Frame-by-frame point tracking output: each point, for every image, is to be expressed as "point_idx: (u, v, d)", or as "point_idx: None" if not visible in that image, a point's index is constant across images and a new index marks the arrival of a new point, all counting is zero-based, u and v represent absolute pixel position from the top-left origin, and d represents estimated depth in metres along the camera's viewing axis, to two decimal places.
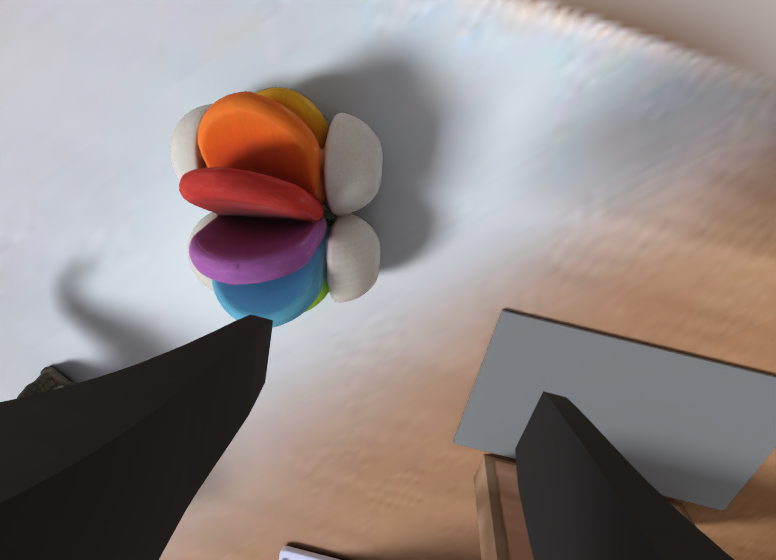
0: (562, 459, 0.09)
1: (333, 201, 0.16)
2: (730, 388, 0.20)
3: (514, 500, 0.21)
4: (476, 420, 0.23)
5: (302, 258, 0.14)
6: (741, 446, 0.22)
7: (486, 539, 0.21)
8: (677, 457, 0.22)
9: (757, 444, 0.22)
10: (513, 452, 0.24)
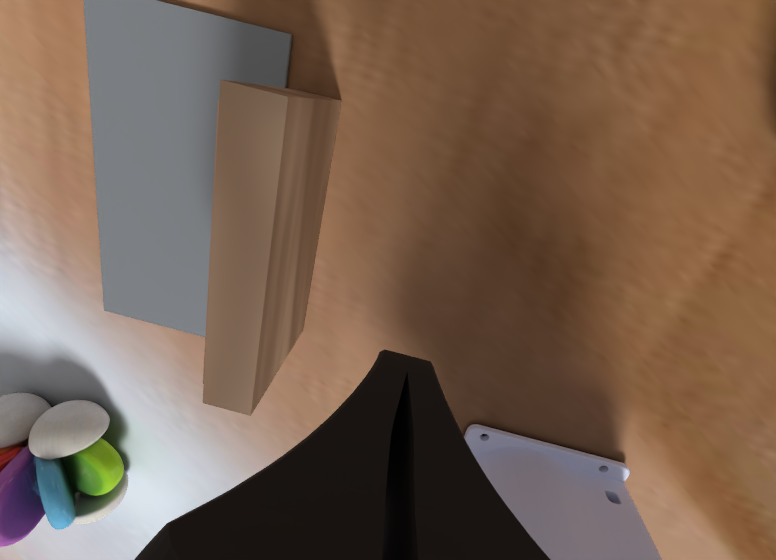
0: (401, 416, 0.09)
1: (1, 445, 0.24)
2: (114, 89, 0.19)
3: None
4: None
5: None
6: (182, 48, 0.18)
7: None
8: None
9: (174, 29, 0.17)
10: None
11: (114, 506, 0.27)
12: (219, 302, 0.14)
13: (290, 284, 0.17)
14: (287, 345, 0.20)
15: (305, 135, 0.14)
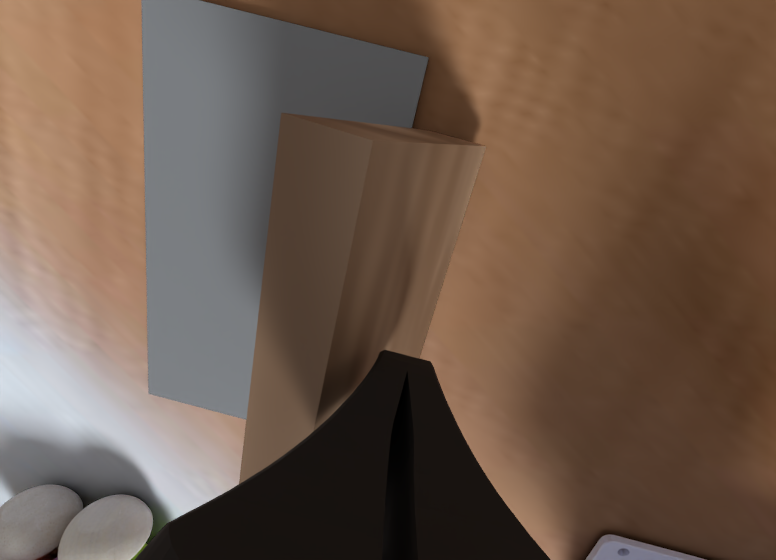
0: (401, 416, 0.09)
1: None
2: (176, 129, 0.14)
3: None
4: None
5: None
6: (274, 76, 0.13)
7: None
8: None
9: (265, 50, 0.13)
10: None
11: None
12: (259, 418, 0.10)
13: None
14: None
15: (411, 198, 0.09)
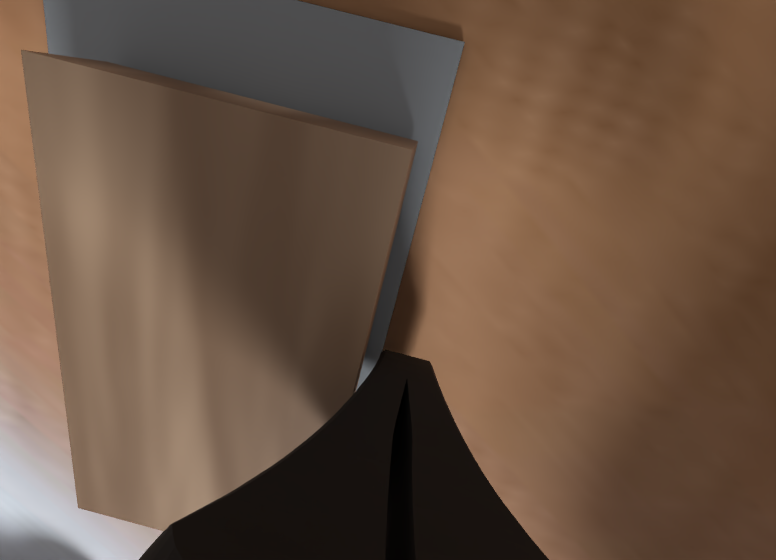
0: (400, 416, 0.09)
1: None
2: None
3: None
4: None
5: None
6: (237, 70, 0.09)
7: None
8: None
9: (223, 32, 0.09)
10: None
11: None
12: None
13: (180, 415, 0.10)
14: None
15: (144, 151, 0.07)
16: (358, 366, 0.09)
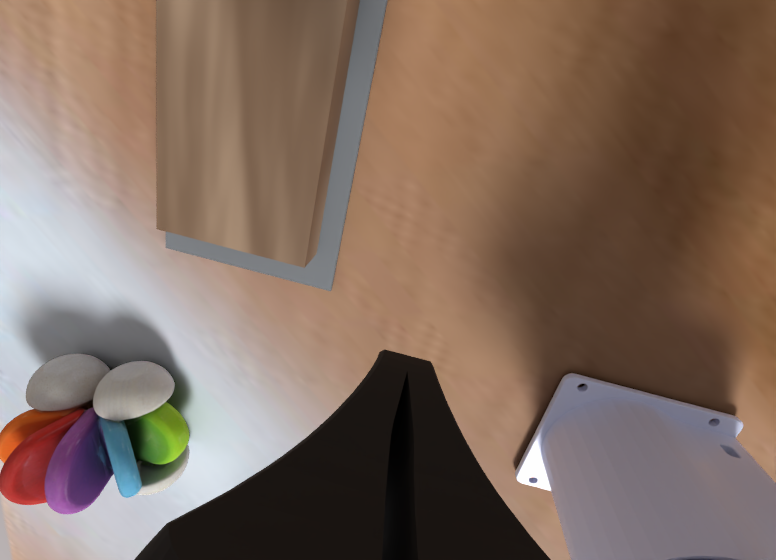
0: (401, 416, 0.09)
1: (64, 406, 0.22)
2: None
3: None
4: (295, 268, 0.21)
5: (60, 449, 0.20)
6: None
7: None
8: None
9: None
10: (334, 227, 0.20)
11: (177, 477, 0.25)
12: None
13: (227, 141, 0.17)
14: (244, 235, 0.18)
15: None
16: (331, 93, 0.15)
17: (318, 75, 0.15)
